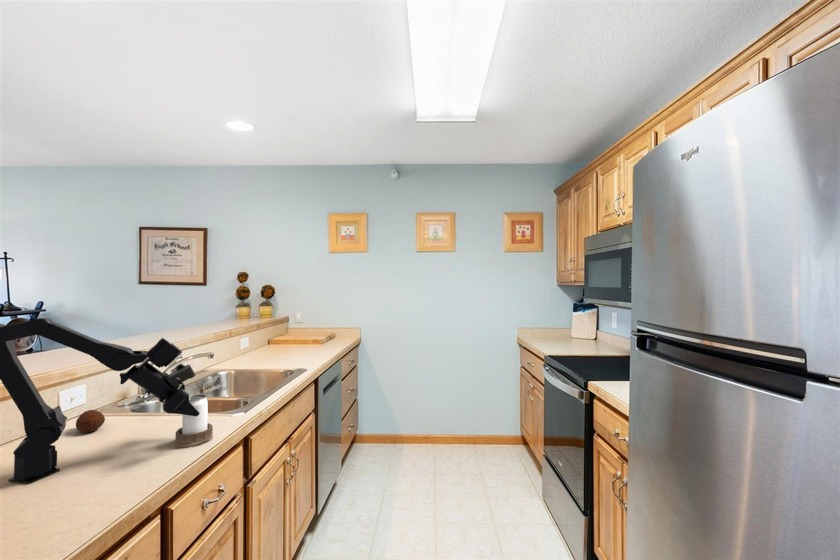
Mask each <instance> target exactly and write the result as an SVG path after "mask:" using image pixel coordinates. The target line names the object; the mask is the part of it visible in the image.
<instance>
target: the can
mask: <svg viewBox="0 0 840 560" xmlns="http://www.w3.org/2000/svg"><path fill="white" fill-rule="evenodd" d="M189 402H190V403H191V404H192V405H193V406H194V407H195V408H196V409H197V411H198V412H199V413H200V414H199V415H198V416H190V415H182V414H181V415H182V421H181V425H182V426H181V428H182V434H186V435H187V434H195V433H199V432H202V431H205V430H207V423H208V418H209V417H208V414H209V413H208V412H209V411H208V408H209V406H208V399H207V395H205V394H194V395H189Z"/></svg>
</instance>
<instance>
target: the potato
mask: <svg viewBox="0 0 840 560" xmlns="http://www.w3.org/2000/svg"><path fill="white" fill-rule="evenodd" d="M105 421H106V417H105V415H104V414H103V413H102V412H100V411H99V410H97V409H90V410H85V411H84V412H82V413H81V414H80V415H79V416H78V418H77V419H76V422H75V428H76V430H77V431H79V433H91V432H93V431H97V430H98V429H100V428H101V427H102V426H103V425H104V423H105Z"/></svg>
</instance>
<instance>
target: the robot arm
mask: <svg viewBox="0 0 840 560" xmlns="http://www.w3.org/2000/svg"><path fill="white" fill-rule="evenodd" d="M32 336H40V337H41V338H42V337H43V338H44V339H45V338H46V339H48V340H51V341H53V342H55V343H58V344H61V345H63V346H65V347H68V348H71V349H74V350H76V351H79V352H80V353H82V354H85V355H89V356H91V357H92V358H94V359H95V360H96V361H98V362H99V363H100V364H102V365H103V366H105V367H107V368H108V369H110V370H113V371H116V372H120V373H119V377H120V383H119V384H120V385H124V384H126V383H127V381H128V380H130V381H132V382H133V383H134V384H136V385H138V386H139V387H140V388H141V389H144V390H145V392H146V393H147V394H148V395H153V397H155V398H157V399H158V401H159V402H160V403H162V410H163V411H164V412H165V413H167V414H169V415H170V414H171V415H173V414H175V415H176V414H177V415H190V416H198V415H199V414H200V413H199V412H198V411H197V409H196V408H195V407H194V406H193V405H192V404H191V403H190V402H189V396H190V395H189V392H187V391H186V385H185V383H184V382H185V381H187V380H190V379H193V378H194V377H196V373H195V371H194V370H193V368H192V367H191V364H186V365H185V364H183V363H179V364H178V365H176V368H175V370H173V372H172V373H170V374H169V373H167V372H164V371H163V372H162V371H161V370H160V369H161V368H163V367H166V368H167V367H168V366H169V365H170V364H171V363H172V362H173V361H175V360H176V359H177V358H178V357H179V356H180V355H181V354H182V353H183V351H182V350H181V349H180V348H179V347H178V346H176V345H175V344H174V343H171V342H169V341H168V340H166V339H165V338H164V337H161V338H160V339H159V340H158V341H157V343H156V344H154V345H153V346H152V347H151V348H150V349H149V350H133V348H131V347H127V346H123V345H119V344H115V343H111V342H110V343H109V342H105V341H101V340H99V339H96V338H94V337H91V336H89V335H86V334H84V333H81V332H79V331H76V330H74V329H72V328H70V327H67V326H65V325H62V324H60V323H57V322H55V321H53V320H52V319H50V318H47V317H38V318H35V319H32V320H27V321H21V322H15V323H10V324H4V323H0V382H1V384H2V385H3V386H4V388H5V389H6V390H7V393H8V394H9V396H10V398H11V399H12V401H13V402H14V403H15V405H16V407H17V409H18V410H19V412H20V414H21V415H22V420H23V428H24V433H25V436H26V437H24V439H22V441H20V443H19V444H18V445H17V447H16V448H15V450H14V451H13V452H12V453H13V455H14V457H13V459H14V460H13V461H14V463H13V476H12V477H10V478H8V482H11V483H19V484H27V485H28V484H31V483H33V482H36V481H38V480H41V479H43V478H45V477H47V476H50V475H52V474H55V473H57V472H60V470H61V468H60V467H57V466H58V450H56V445H54V443H56V442H57V441H58V440H59V439H60V437H61V435H62V433H63V432H64V430H65V429H66V425H67V424H66V421H67V420H68V417H67V416H65V414H64V413H63V411H62V408H61V406H60V405H57V406H55V407H51V406H49V405H48V404H47V403H46V402H45V400H44V398H43V397H42V396H41V394H40V392H39V390H38V389H37V387H36V385H35V383H34V382H33V381H32V379H31V377H30V375H29V374H28V372H27V370H26V369H25V367H24V366H23V364H22V362H21V360H20V359H19V357H18V355H17V349H16V342H15V340H18V339H23V338H28V337H32ZM151 363H152V364H153V365H154V366H153V365H152V364H151ZM137 364H139V365H137ZM155 366H156V367H158V368H159V369H158V368H156V367H155ZM125 370H127V371H126V372H121V371H125Z"/></svg>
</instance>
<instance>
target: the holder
mask: <svg viewBox="0 0 840 560" xmlns="http://www.w3.org/2000/svg"><path fill="white" fill-rule="evenodd" d="M213 438H214V437H213V424H211V423H208V422H207V430H205V431H202V432H199V433H195V434H187V435H186V434H182V427H180V428H178V429H177V430H176V431H175V439H174V440H175V441H174V445H175V447H177V448H180V449H181V448H183V449H184V448H194V447H198V446H202V445H205V444H206V443H209V442H210V441H212V440H213Z"/></svg>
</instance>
